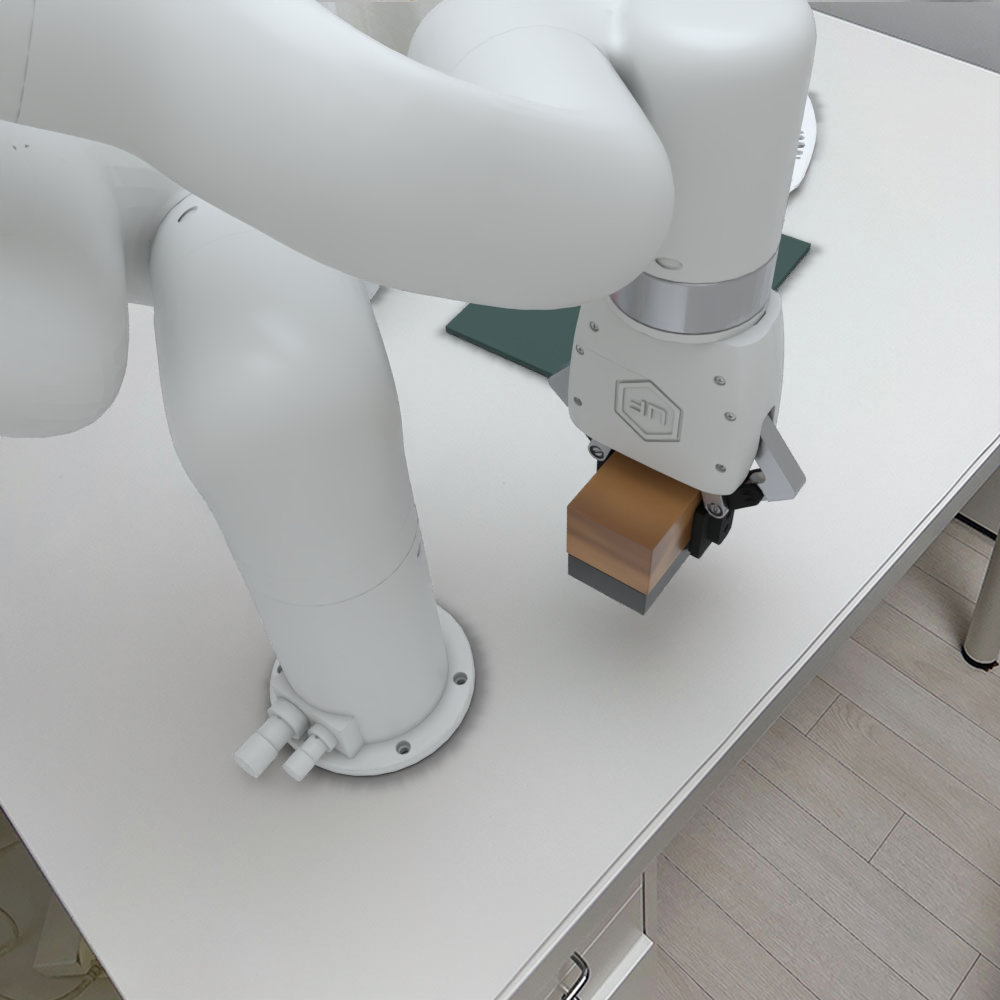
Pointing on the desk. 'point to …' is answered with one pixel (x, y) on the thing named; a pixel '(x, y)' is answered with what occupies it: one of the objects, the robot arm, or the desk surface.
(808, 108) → the knife
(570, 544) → the scrub brush
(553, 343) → the mat
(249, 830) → the desk surface
